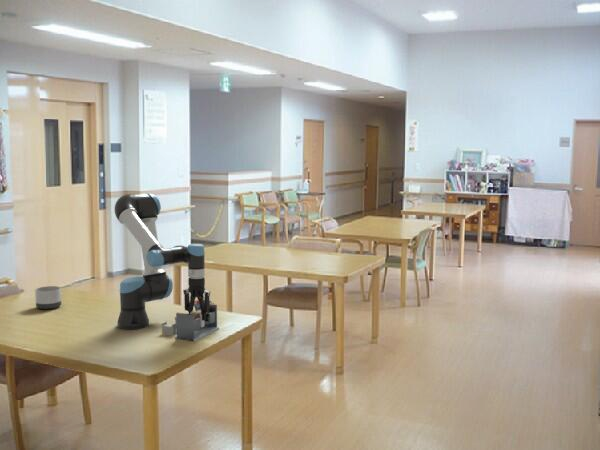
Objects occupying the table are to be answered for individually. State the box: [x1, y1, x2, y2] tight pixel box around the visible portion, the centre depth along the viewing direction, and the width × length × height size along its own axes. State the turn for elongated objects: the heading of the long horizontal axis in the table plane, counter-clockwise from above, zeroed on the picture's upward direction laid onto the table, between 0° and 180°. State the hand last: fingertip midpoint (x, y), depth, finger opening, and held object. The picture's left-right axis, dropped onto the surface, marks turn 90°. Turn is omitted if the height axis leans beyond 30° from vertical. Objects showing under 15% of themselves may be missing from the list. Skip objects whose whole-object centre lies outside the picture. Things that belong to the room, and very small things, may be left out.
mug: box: [193, 299, 215, 312], centre depth 314 cm, size 12×9×11 cm
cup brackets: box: [175, 303, 218, 342], centre depth 295 cm, size 9×21×12 cm, turn 157°
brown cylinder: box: [191, 310, 210, 320], centre depth 294 cm, size 15×4×4 cm, turn 157°
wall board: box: [174, 326, 220, 342], centre depth 295 cm, size 11×21×1 cm, turn 157°
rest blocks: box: [160, 316, 177, 336], centre depth 300 cm, size 6×14×5 cm, turn 157°
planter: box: [34, 285, 62, 310], centre depth 342 cm, size 13×13×10 cm
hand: (197, 325), depth 295 cm, fingers open, 5 cm apart
